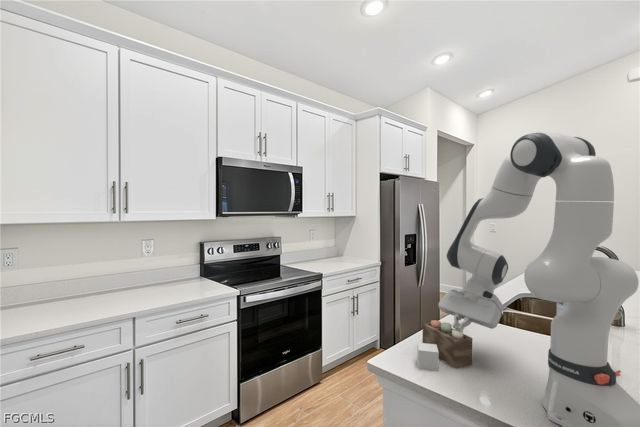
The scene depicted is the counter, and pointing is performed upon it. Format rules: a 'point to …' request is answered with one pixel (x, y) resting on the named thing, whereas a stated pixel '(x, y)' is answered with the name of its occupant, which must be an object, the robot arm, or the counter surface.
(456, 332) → the cream button
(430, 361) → the grey cube
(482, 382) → the counter surface
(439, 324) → the terracotta button
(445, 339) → the brown wooden box
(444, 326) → the sage button
